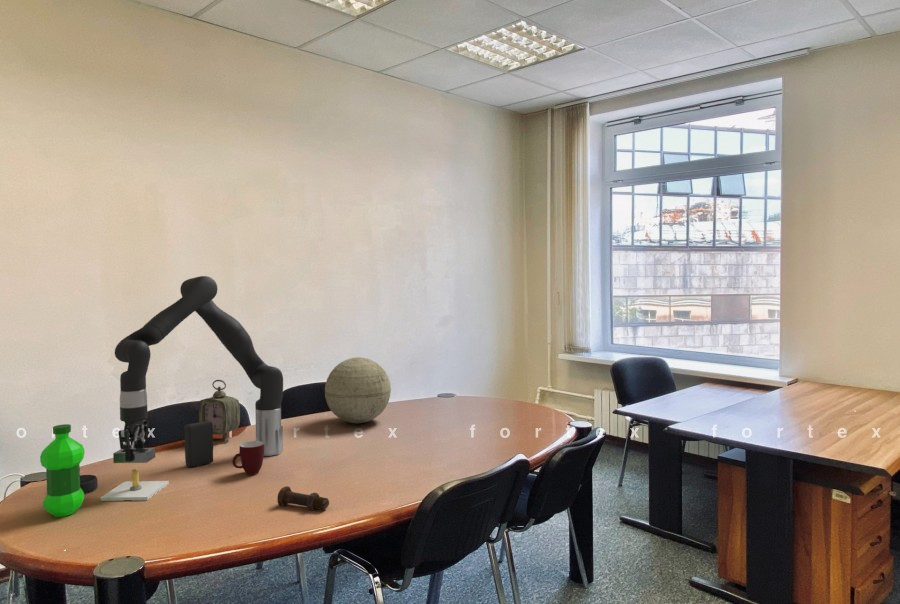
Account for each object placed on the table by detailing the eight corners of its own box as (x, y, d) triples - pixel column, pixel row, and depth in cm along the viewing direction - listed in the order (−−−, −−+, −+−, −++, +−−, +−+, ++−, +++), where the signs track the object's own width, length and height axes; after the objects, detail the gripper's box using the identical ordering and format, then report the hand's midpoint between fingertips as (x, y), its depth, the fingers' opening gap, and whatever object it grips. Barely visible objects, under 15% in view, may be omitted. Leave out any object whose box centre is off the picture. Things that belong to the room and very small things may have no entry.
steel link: (155, 457, 186) (155, 447, 186) (146, 462, 180) (146, 453, 180) (123, 457, 186) (123, 448, 186) (113, 463, 180) (113, 453, 180)
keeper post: (168, 483, 191) (168, 462, 190) (147, 500, 177) (147, 477, 176) (125, 484, 190) (124, 463, 190) (100, 500, 176) (99, 477, 176)
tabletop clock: (199, 440, 241) (197, 380, 240) (215, 435, 249) (214, 376, 248) (226, 444, 236) (225, 382, 235) (242, 438, 244) (241, 379, 243)
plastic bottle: (39, 523, 160) (36, 432, 159) (47, 509, 170) (45, 423, 169) (81, 517, 164) (79, 428, 163) (88, 503, 174) (85, 420, 173)
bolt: (325, 517, 168) (280, 509, 173) (333, 503, 172) (289, 495, 177) (320, 504, 165) (274, 496, 170) (328, 490, 169) (283, 482, 174)
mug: (239, 480, 194) (238, 450, 193) (228, 474, 199) (228, 445, 199) (269, 473, 201) (268, 444, 200) (258, 467, 207) (257, 439, 206)
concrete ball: (358, 412, 292) (357, 351, 290) (404, 420, 274) (404, 356, 273) (311, 424, 267) (310, 358, 266) (358, 434, 250) (357, 364, 249)
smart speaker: (73, 498, 179) (72, 485, 179) (58, 492, 184) (58, 480, 183) (103, 489, 186) (103, 477, 186) (88, 484, 191) (88, 472, 191)
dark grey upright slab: (210, 460, 215) (209, 419, 215) (214, 462, 212) (213, 421, 212) (184, 466, 209) (183, 424, 208) (188, 468, 206) (187, 426, 205)
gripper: (134, 409, 175) (135, 465, 176) (156, 399, 190) (157, 451, 190) (108, 409, 175) (109, 465, 176) (133, 399, 190) (134, 451, 190)
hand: (134, 457), depth 183 cm, fingers closed on steel link, 5 cm apart
